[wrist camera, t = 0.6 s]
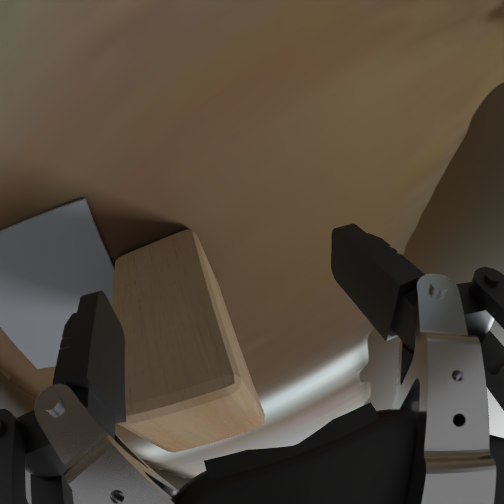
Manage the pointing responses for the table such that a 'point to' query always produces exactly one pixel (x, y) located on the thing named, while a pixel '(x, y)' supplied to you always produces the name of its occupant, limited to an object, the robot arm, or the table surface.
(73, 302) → the mat
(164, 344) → the wooden block
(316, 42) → the table surface
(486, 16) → the table surface
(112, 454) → the robot arm
